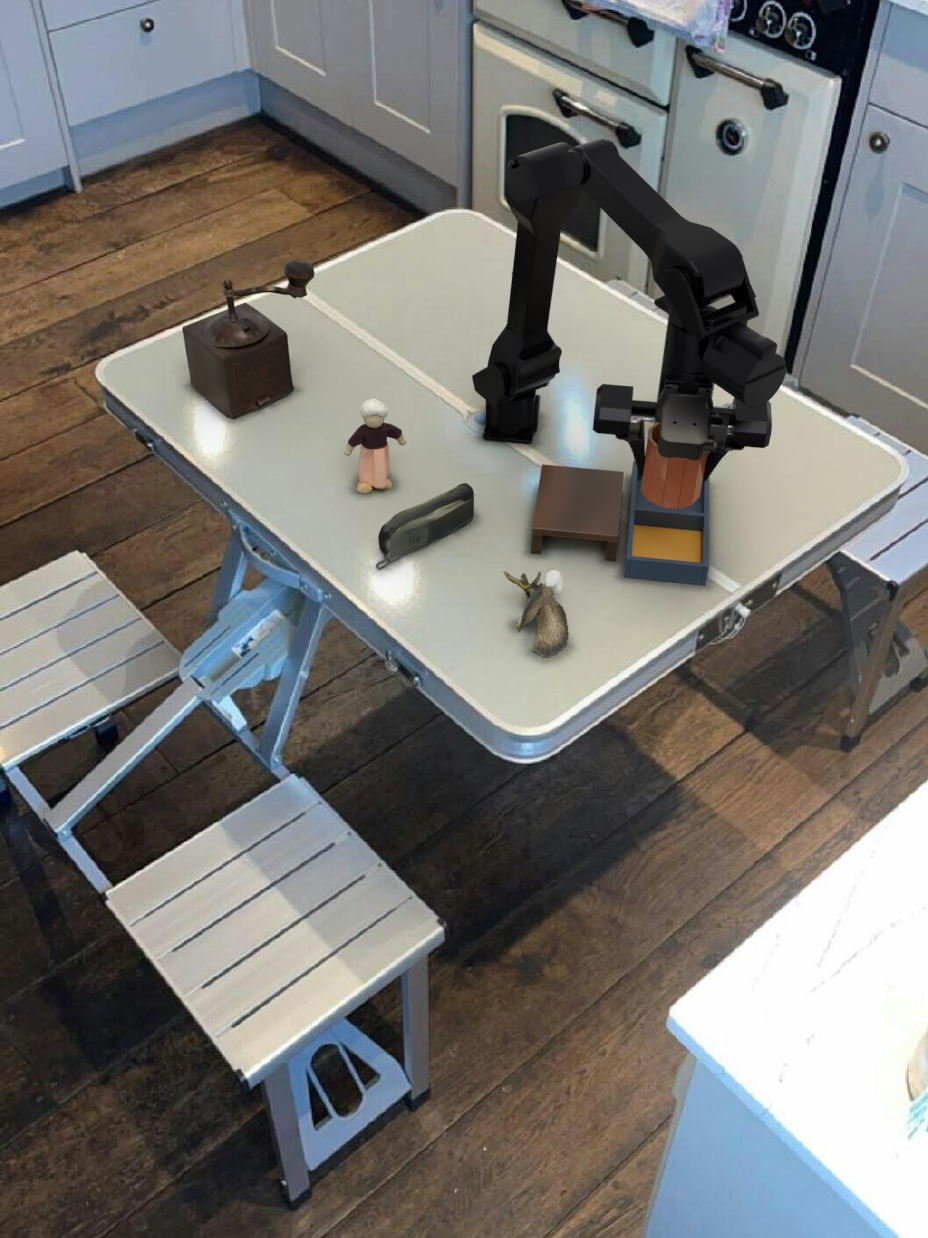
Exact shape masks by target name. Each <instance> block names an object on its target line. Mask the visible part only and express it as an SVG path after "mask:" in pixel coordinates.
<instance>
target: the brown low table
mask: <svg viewBox="0 0 928 1238" xmlns="http://www.w3.org/2000/svg"><path fill="white" fill-rule="evenodd" d="M624 473H625V472H624V471H620V470H607V469H597V468H586V467H575V466H565V465H564V466H563V465H554V464H541V469H540V476H539V482H538V489H537V495H536V501H535V509H534V514H533V521H532V529H531V541H530V543H531V544H530V554H534V555H535V554H536V555H542V549H543V543H544V536H546V537H547V536H548V537H559V538H569V539H577V540H578V539H579V540H590V541H600V542H606V546H605V547H606V549H605V557H604V558H605V559H604V560H605V561H606V562H616V561H617V552H618V544H619V538H620V537H619V535H620V525H621V524H620V522H621V510H622V501H623V499H622V498H623V488H624V487H623V485H624V475H625V474H624Z"/></svg>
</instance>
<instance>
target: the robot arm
mask: <svg viewBox="0 0 928 1238" xmlns="http://www.w3.org/2000/svg"><path fill="white" fill-rule="evenodd" d="M505 171H506V172H505V197H506V200H505V201H506V204H507V206H508V207H509V210H510V211H511V213H512V214H513V216H514V218H515V220H516V222H517V223H516V225H517V227H516V236H515V245H514V246H515V247H514V255H513V264H512V272H511V283H510V292H509V301H508V311H507V320H506V325H505V327H504V328H503V329H502V331H501V332H500V334H498V336H497V338H496V339H495V340H494V341H493V343H492V345H491V349H490V353H489V356H488V360H487V361H488V362H487V365H486V367H484V368H483V369H481V370H479V371H478V372H475V373H474V374H472V376H471V378H472V384H473V389H474V392H475V393H476V394H478V395H479V396H480V397H481V398H483V399H484V400H485V407H484V408H485V410H484V411H485V412H484V426H483V431H482V439H483V440H486V441H495V442H506V443H517V444H527V445H528V444H529V445H530V444H532V443H533V441H534V433H537V432H538V430H539V429H538V428H539V422H540V413H541V412H540V411H541V410H540V409H541V395H540V394H537V390H540V389H542V388H546V387H548V386H549V384H550V382H551V381H552V380H554V378H556V375H558V374H560V373H561V369H560V368H561V367H560V362H561V361H560V360H561V357H562V353H563V350H562V348H561V347H560V346H559V345H557V343H556V342H555V341H554V339H553V337H552V336H551V334H550V332H549V330H548V329H549V321H550V313H551V305H552V299H553V293H554V292H553V291H554V285H555V284H554V283H555V277H556V271H557V262H558V256H559V247H560V240H561V233H562V228H563V226H564V225H565V224H566V222H567V221H568V219H569V218H570V217H571V215H572V214H573V213H574V211H575V210H576V208H577V207H578V205H579V202H580V200H581V196H582V193H583V191H584V193H585V194H586V195H587V196H588V197H589V198H590V199H591V200H592V201H593V202H594V203H595V204H596V205H597V206H598V207H599V208H600V209H601V211H603V213H605V214H606V215H607V216H608V217H609V218H610V219H611V220H612V221H613V223H615V224H616V225H617V226H618V228H620V230H622V231H623V233H624V234H626V235H627V236H628V237H629V239H630V240H631V241H632V242H634V244H635V245H637V246H638V247H639V248H640V250H641V251H642V252H643V253H644V254H645V256H646V257H647V258H648V259H649V261H650V265H651V272H652V278H653V281H654V282H655V284H656V285H657V287H658V288H659V290H660V291H661V292H662V293H663V295H662V296H660V297H657V298H655V299H654V301H653V304H654V306H655V307H657V308H658V309H660V310H661V311H663V312H665V313H666V315H668V318H667V324H666V332H665V337H664V338H665V340H664V346H663V353H662V361H661V368H660V375H659V382H658V383H659V384H658V389H657V397H656V401H650V400H649V401H648V400H638V399H633V398H634V386H632V385H620V384H610V383H602V384H601V385H600V386H598V388H596V394H595V404H594V412H593V413H594V414H593V423H592V431H593V432H594V433H596V434H598V435H599V434H601V435H612V436H615V438H616V439H617V440H621V441H625V442H627V443H628V446H629V447H630V449H631V451H632V454H633V458H634V461H635V462H636V465H637V469H638V472H639V475H640V476H643V472H644V463H645V452H646V429H645V425H646V424H645V423H646V422H648V423H654V422H659V423H660V427H659V440H658V453H659V454H660V455H661V456H662V457H665V458H672V457H675V458H686V459H690V460H699V459H701V458H702V457H703V455H704V452H705V451H708V453H707V459H706V465H705V470H704V476H703V482H706V480H707V479H708V478H709V479H710V477H711V475H712V473H713V472H714V470H715V469H716V467H717V466H718V464H719V463H720V462H721V460H722V459H723V458H724V457H726V455H727V454H728V453H730V452H732V451H742V450H744V449H745V447H746V448H756V449H765V448H767V447H768V446H769V445H770V440H771V436H772V431H773V418H772V403H771V402H770V400H771V399H773V397H774V396H775V395H776V394H777V392H778V391H779V389H780V388H781V386H782V384H783V383H784V380H785V377H786V375H787V370H788V367H786V361H785V358H784V357H783V356H782V355H781V354H779V353H777V349H778V343H777V342H776V341H774V340H773V339H771V338H770V337H767V336H764V335H762V334H760V333H758V332H757V331H756V330H754V329H752V328H750V327H749V326H748V321H750V320H753V319H755V318H758V317H759V315H760V311H759V307H758V304H757V300H756V297H757V295H756V293H755V291H754V289H753V286H752V284H751V281H750V277H749V275H748V271H747V268H746V264H745V262H744V256H743V253H742V252H741V251H740V249H739V248H738V246H737V245H736V244H735V243H734V242H733V241H731V240H730V239H728V238H727V237H726V236H724V235H722V234H721V233H720V232H719V231H717V230H715V229H714V228H713V227H710V226H708V225H704V224H701V223H697V222H693V221H689V220H688V219H687V218H685V217H683V216H682V215H681V214H680V213H679V212H678V211H677V210H676V209H675V208H674V207H673V206H672V205H671V204H670V203H668V202H667V201H666V199H665V198H664V197H662V195H661V194H660V193H659V192H657V191H656V190H655V189H654V188H653V187H652V186H651V184H649V182H647V181H646V180H645V179H644V178H643V176H641V175H640V174H639V173H638V172H637V171H636V169H634V168H633V167H632V166H631V165H630V164H629V163H628V162H627V161H626V160H625V159H624V158H623V157H622V156H620V152H619V150H618V147H617V146H616V144H615V143H614V142H613V141H612V140H610V139H606V138H597V139H595V140H590V141H588V142H585V143H581V144H578V145H576V146H572V145H571V144H569V143H567V142H565V141H564V142H557V143H553V144H551V145H548V146H545V147H542V148H538V149H535V150H532V151H529V152H525V153H523V154H520V155H516V156H515V157H514V158H512V160H511V159H510V160H509V162H508V163H507V167H506V170H505ZM729 297H731V298H732V299H733V302H732V303H730V304H726V305H725V306H722V307H720V308H716V307H715V306H713V304H715V303H717V302H720V301H722V300H724V299H726V298H729ZM715 385H716V386H717V387H719V388H720V389H722V390H723V391H725V392H726V393H727V394H729V395H730V396H732V397H733V400H732V402H731V403H730V402H729V403H728V402H726V403H724V404H722V405H714V400H713V395H714V391H715V390H714V389H715Z"/></svg>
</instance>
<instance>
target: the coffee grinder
mask: <svg viewBox="0 0 928 1238" xmlns="http://www.w3.org/2000/svg"><path fill="white" fill-rule="evenodd" d="M283 274H284V275H285V277H286V279H287V281H288V284H287V286H286V287H281V286H276V285H260V286H252V287H245V288H239V289H234V287H233V286H234V283H233V281H232V280H231V279H230V278H226V279H223V281H222V286H223V291H222V294H223V296H224V297H225V298H226V304H227V309H224V310H222V311H219V312H217V313H214V314H212V315H208V316H207V317H204V318H201V319H199V320H196V321H193V322H192V323H189V324H186V325H184V326H182V328H181V329H182V331H181V332H182V336H183V342H184V349H185V355H186V361H187V368H188V372H189V378H190V385H191V386H192V388H193V389H194V390H195V391H196V392H197V393H198V394H199V395H200V396H201V397H202V398H204V399H205V401H206V400H207V402H208V403H210V404H211V405H212V406H213V407H214V408H215V409H217V410H218V411H219V412H220V413H221V414H222V415H223V416H225V417H226V418H229V419H231V420H234V419H236V418H239V417H242V416H245V415H248V414H249V413H252V412H254V411H256V410H257V411H258V410H259V409H262V408H265V407H266V406H268V405H271V404H272V403H274V402H276V401H278V400H279V399H282V398H284V397H285V396H287V395H289V394H291V392H293V391H295V387H294V384H293V376H292V368H291V357H290V349H289V338H288V333H287V331H285V330H284V329H283V328H281V327H280V326H279V325H278V324H276V323H275V321H272V319H270V318H269V317H267V316H266V315H264V313H262V312H261V311H260V310H258V309H257V308H254V307H253V306H252V305H250V304H248V303H247V302H246V301H245V302H243V303H239V304H237V305H235V299H234V297H247V296H251V295H258V294H270V293H272V294H278V295H284V296H290V297H291V298H293V299H296V298H301V299H303V298H304V297H307V296H308V292H307V286H308V284H309V283H310V282H311V281H312V280H313V279H314V278H315V274H316V272H315V270H314V267H313V265H312V264H311V263H310V262H308V261H307V260H305V259H302V258H293V259H289V260H288V261H286V263H285V264H284V266H283Z"/></svg>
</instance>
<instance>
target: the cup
mask: <svg viewBox="0 0 928 1238" xmlns="http://www.w3.org/2000/svg"><path fill="white" fill-rule="evenodd" d="M659 427H660V423H659V422H656V423H655V424H654V423H653V424H652V425H651V426H650V427H649V428H648V431H647V438H646V444H645V463H644V472H643V476H642V482H641V492H642V494H643V495H644V496H645V497H646V499H647V500H648V501H649V502H652V503H654V504H656V505H658V506H660V507H664V508H675V509H677V508H678V509H679V508H683V507H686V506H690V505H692V504H693V503H694V502H695V501H696V500H697V499H698V498H699V497H700V493H701V487H702V482H703V476H704V470H705V465H706V459H707V453H708V451H705V452H704V455H703V457H702V458H701V459H699V460H690V459H686V458H675V457H672V458H665V457H662V456H661V455H660V454H659V453H658V440H659Z"/></svg>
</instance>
